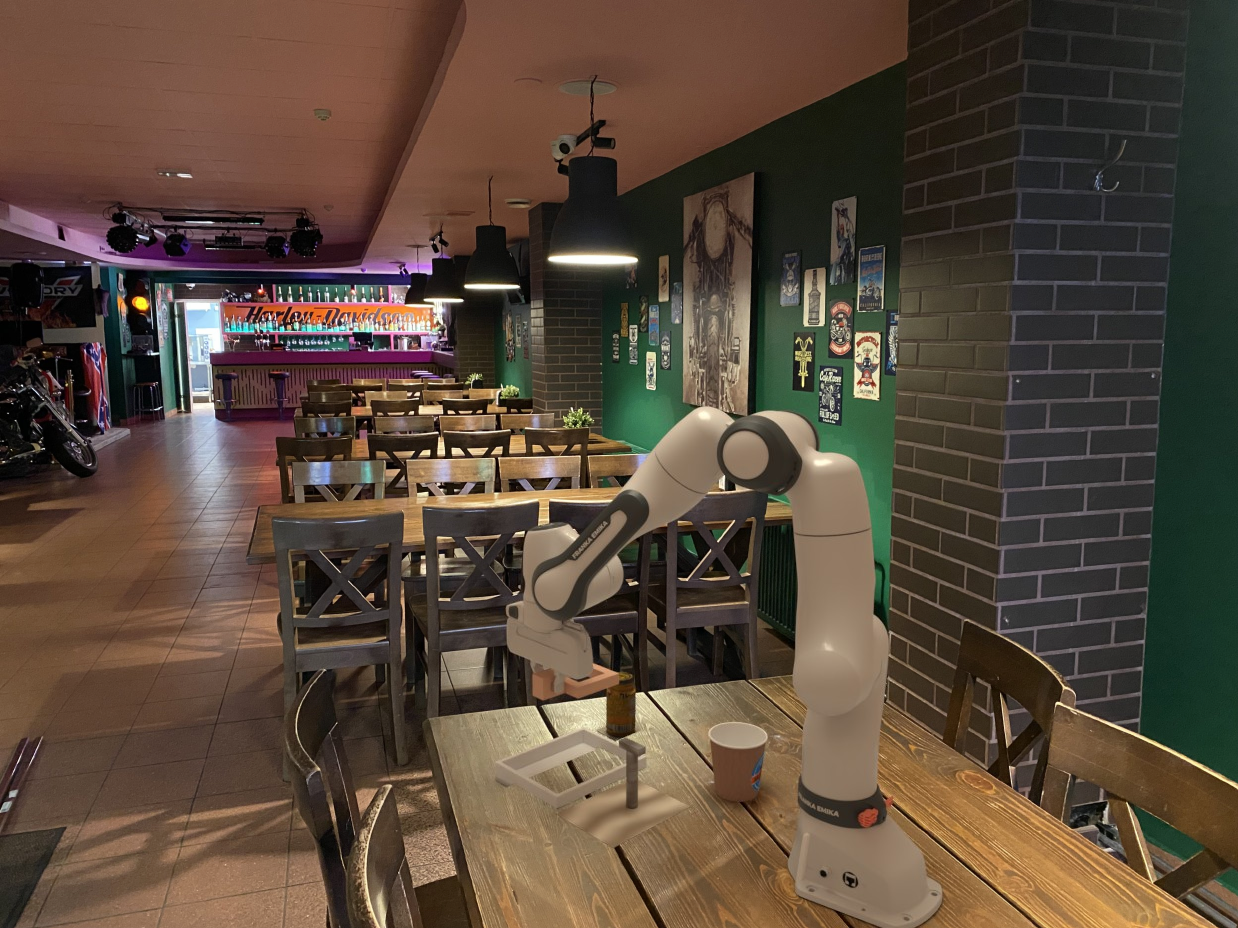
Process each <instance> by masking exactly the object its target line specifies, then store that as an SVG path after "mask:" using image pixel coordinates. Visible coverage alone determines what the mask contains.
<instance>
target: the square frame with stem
mask: <svg viewBox="0 0 1238 928" xmlns="http://www.w3.org/2000/svg"><path fill="white" fill-rule="evenodd" d="M587 677H588V678H587V679H584V680H582V681H577V680H576V679H573V678H572V677H569V676H567V678H566V679H565V681H564V690H563V692H561V693H558V694H557V693H554V692H552V691H551V682H554V681H555V678H556V676H555V675H554V670H553V669H550V668H547V669H544V670H543V671H540V672H537V673H532V696H533V697H535V698H537V699H539V700H541V701H547V700H548V699H549V700H550V699H552V698H554V697H557V696H560V695H563V694H567V695H568V696H570V697H574V698H576V699H581V698H584V697H586V696H589V695H593V694H595V693H598V692H600V691H603V690H605V689H606V690H607V688H609V687H612V686H615V685H617V684H619V673H617V671H614V670H611V669H609V668H606V667H604V666H601V665H600V664H599V665H598V664H596V663H594V662H593V671H592V673H591V674H590V675H589V676H587Z"/></svg>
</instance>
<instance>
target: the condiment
mask: <svg viewBox="0 0 1238 928" xmlns="http://www.w3.org/2000/svg"><path fill="white" fill-rule="evenodd" d="M616 672H617V671H616ZM617 673H619V684H617V685H615V686H612V687H609V688H606V695H605V696H606V698H605V700H606V701H605V703H606V704H605V705H606V706H605V708H606V713H605V714H606V715H605V716H606V721H605V723H606V726H605V727H602V728H599V729H597V730H596V731H597V732H599V733H601V734H603V735H604V736H606V737H607V738H610V739H611V740H612V739H613V741H614V740H615V742H617V741H619V740H621V739H623V738H628V737H629V736H631V735H634V734H636V733H638V732H641V731H642V729H640V728H638V727H636V721H637V720H636V719H637V717H636V712H637V711H636V710H637V709H636V706H637V705H636V702H637V697H636V695H637V693H636V692H637V691H636V688H635V683H634V682H635V677H634V675H633V674H631V673H628V672H625V671H624V672H623V671H618V672H617Z"/></svg>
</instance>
